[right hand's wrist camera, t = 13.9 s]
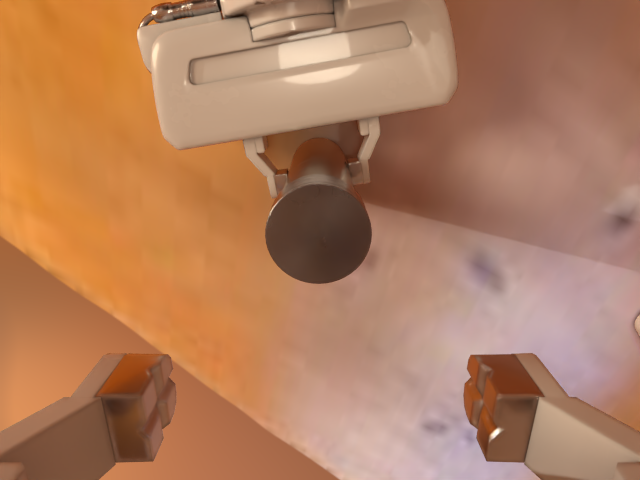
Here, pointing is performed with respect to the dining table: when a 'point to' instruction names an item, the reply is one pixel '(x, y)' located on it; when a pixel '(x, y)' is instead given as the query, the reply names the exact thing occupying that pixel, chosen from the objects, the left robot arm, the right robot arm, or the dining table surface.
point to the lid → (318, 229)
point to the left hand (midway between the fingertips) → (321, 189)
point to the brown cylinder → (319, 161)
